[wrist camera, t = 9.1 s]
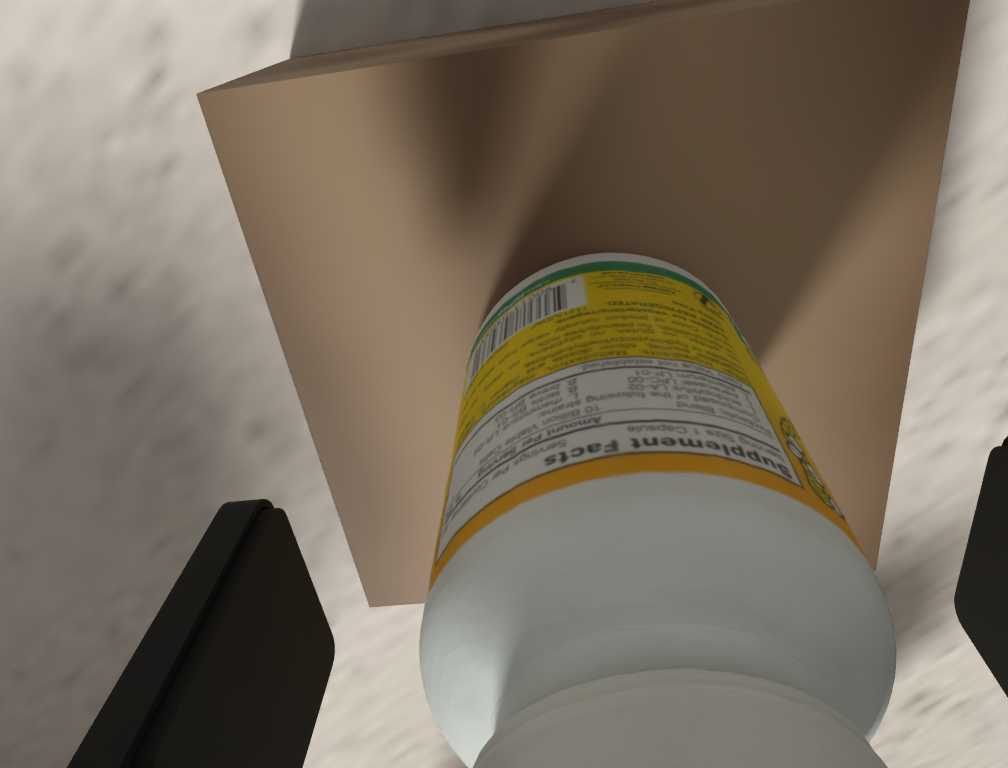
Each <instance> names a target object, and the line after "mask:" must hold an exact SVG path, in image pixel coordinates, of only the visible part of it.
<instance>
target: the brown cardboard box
mask: <svg viewBox="0 0 1008 768" xmlns="http://www.w3.org/2000/svg"><path fill="white" fill-rule="evenodd" d="M969 2H970V0H663V1H656V2H650V3H643V4H637V5H631V6H624V7H618V8H612V9H605V10H599V11H593V12H586V13H580V14H574V15H567V16H561V17H554V18H548V19H542V20H535V21H529V22H523V23H516V24H510V25H504V26H497V27H491V28H485V29H478V30H472V31H465V32H459V33H453V34H446V35H440V36H434V37H427V38H421V39H415V40H408V41H402V42H396V43H389V44H383V45H377V46H370V47H364V48H357V49H351V50H345V51H338V52H332V53H326V54H319V55H313V56H307V57H300V58H294V59H288V60H285V61H283V62H280V63H277V64H275V65H272V66H269V67H267V68H264V69H261V70H259V71H256V72H253V73H251V74H248V75H245V76H243V77H240V78H237V79H235V80H232V81H229V82H227V83H224V84H221V85H219V86H216V87H213V88H211V89H208V90H205V91H203V92H200V93H197V94H196V95H197V98H198V101H199V103H200V106H201V109H202V112H203V115H204V118H205V121H206V124H207V127H208V130H209V133H210V136H211V139H212V142H213V145H214V148H215V151H216V154H217V157H218V160H219V163H220V166H221V169H222V172H223V175H224V178H225V180H226V183H227V186H228V189H229V192H230V195H231V198H232V201H233V204H234V207H235V210H236V213H237V216H238V219H239V222H240V225H241V228H242V231H243V234H244V237H245V240H246V243H247V246H248V249H249V252H250V254H251V257H252V260H253V263H254V266H255V269H256V272H257V275H258V278H259V281H260V284H261V287H262V290H263V293H264V296H265V299H266V302H267V305H268V308H269V311H270V314H271V317H272V320H273V323H274V326H275V329H276V331H277V334H278V337H279V340H280V343H281V346H282V349H283V352H284V355H285V358H286V361H287V364H288V367H289V370H290V373H291V376H292V379H293V382H294V385H295V388H296V391H297V394H298V397H299V400H300V403H301V405H302V408H303V411H304V414H305V417H306V420H307V423H308V426H309V429H310V432H311V435H312V438H313V441H314V444H315V447H316V450H317V453H318V456H319V459H320V462H321V465H322V468H323V471H324V474H325V477H326V480H327V482H328V485H329V488H330V491H331V494H332V497H333V500H334V503H335V506H336V509H337V512H338V515H339V518H340V521H341V524H342V527H343V530H344V533H345V536H346V539H347V542H348V545H349V548H350V551H351V554H352V556H353V559H354V562H355V565H356V568H357V571H358V574H359V577H360V580H361V583H362V586H363V589H364V592H365V595H366V598H367V601H368V604H369V607H379V606H393V605H407V604H421V603H425V602H426V596H427V590H428V585H429V579H430V573H431V568H432V563H433V557H434V552H435V546H436V541H437V536H438V530H439V525H440V520H441V514H442V508H443V502H444V496H445V490H446V484H447V480H448V475H449V470H450V464H451V457H452V450H453V445H454V439H455V433H456V427H457V422H458V416H459V410H460V404H461V399H462V393H463V388H464V380H465V371H466V367H467V364H468V359H469V355H470V351H471V348H472V345H473V342H474V340H475V338H476V335H477V333H478V331H479V329H480V327H481V326H482V324H483V322H484V321H485V319H486V317H487V316H488V314H489V313H490V312H491V310H492V309H493V307H494V306H495V305H496V304H497V303H498V302H499V301H500V300H501V299H502V298H503V297H504V296H505V295H506V294H507V293H508V292H509V291H510V290H511V289H513V288H514V287H515V286H516V285H518V284H519V283H520V282H522V281H523V280H525V279H526V278H528V277H529V276H531V275H532V274H534V273H536V272H538V271H540V270H542V269H544V268H546V267H549V266H551V265H553V264H555V263H558V262H561V261H564V260H568V259H571V258H574V257H578V256H583V255H588V254H597V253H625V254H636V255H642V256H647V257H651V258H655V259H659V260H662V261H665V262H668V263H670V264H673V265H675V266H678V267H680V268H681V269H683V270H685V271H687V272H689V273H690V274H692V275H693V276H695V277H696V278H698V279H699V280H701V281H702V282H703V283H704V284H705V285H706V286H707V287H708V288H709V289H710V290H711V291H712V292H714V293H715V295H716V296H717V297H718V299H719V300H720V301H721V303H722V304H723V305H724V307H725V308H726V309H727V311H728V312H729V314H730V316H731V317H732V319H733V321H734V323H735V324H736V325H737V327H738V328H739V330H740V331H741V333H742V335H743V336H744V338H745V340H746V342H747V343H748V345H749V347H750V348H751V350H752V352H753V353H754V355H755V357H756V359H757V361H758V363H759V365H760V367H761V369H762V371H763V372H764V374H765V376H766V378H767V379H768V381H769V383H770V385H771V386H772V388H773V390H774V392H775V394H776V396H777V398H778V399H779V401H780V403H781V404H782V406H783V408H784V410H785V411H786V413H787V415H788V417H789V419H790V420H791V422H792V424H793V426H794V427H795V429H796V431H797V433H798V434H799V436H800V438H801V440H802V442H803V444H804V445H805V447H806V449H807V451H808V453H809V455H810V457H811V458H812V460H813V462H814V464H815V465H816V467H817V469H818V471H819V472H820V474H821V476H822V478H823V480H824V481H825V483H826V485H827V486H828V488H829V490H830V491H831V493H832V495H833V497H834V499H835V501H836V503H837V504H838V506H839V508H840V510H841V512H842V513H843V515H844V517H845V519H846V521H847V523H848V524H849V526H850V528H851V530H852V532H853V534H854V536H855V538H856V539H857V541H858V543H859V545H860V547H861V549H862V550H863V552H864V554H865V556H866V558H867V560H868V562H869V564H870V566H871V568H872V570H873V571H876V565H877V559H878V553H879V546H880V540H881V534H882V528H883V522H884V516H885V510H886V504H887V498H888V492H889V486H890V480H891V474H892V468H893V462H894V456H895V450H896V444H897V438H898V431H899V425H900V419H901V413H902V407H903V401H904V395H905V389H906V383H907V377H908V371H909V365H910V359H911V353H912V347H913V341H914V335H915V329H916V323H917V316H918V310H919V304H920V298H921V292H922V286H923V280H924V274H925V268H926V262H927V256H928V250H929V244H930V238H931V232H932V226H933V220H934V214H935V207H936V201H937V195H938V189H939V183H940V177H941V171H942V165H943V159H944V153H945V147H946V141H947V135H948V129H949V123H950V117H951V111H952V105H953V99H954V92H955V86H956V80H957V74H958V68H959V62H960V56H961V50H962V44H963V38H964V32H965V26H966V20H967V14H968V8H969Z"/></svg>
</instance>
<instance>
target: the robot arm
mask: <svg viewBox="0 0 1008 768" xmlns="http://www.w3.org/2000/svg"><path fill="white" fill-rule="evenodd" d="M954 603H955V610H956V614H957V617H958V619H959V622H960V623H961V625H962V627H963V629H964V630H965V632H966V633H967V635H968V636H969V638H970V639H971V641H972V643H973V644H974V646H975V647H976V649H977V650H978V652H979V653H980V655H981V657H982V658H983V660H984V661H985V663H986V664H987V666H988V667H989V669H990V671H991V672H992V674H993V675H994V677H995V678H996V680H997V681H998V683H999V685H1000V686H1001V688H1002V689H1003V691H1004V692H1005V694H1006V695H1007V697H1008V436H1007V437H1006V438H1005V440H1004V441H1003V444H1002V446H998V447H994V448H993V449H992V451H991V452H990V455H989V458H988V462H987V466H986V470H985V474H984V478H983V482H982V486H981V490H980V494H979V498H978V502H977V506H976V510H975V515H974V519H973V523H972V527H971V531H970V535H969V539H968V543H967V547H966V551H965V555H964V559H963V563H962V567H961V571H960V575H959V579H958V583H957V588H956V592H955V597H954ZM334 654H335V644H334V638H333V635H332V632H331V629H330V627H329V624H328V622H327V619H326V616H325V614H324V611H323V609H322V606H321V603H320V601H319V598H318V596H317V593H316V590H315V588H314V585H313V583H312V580H311V577H310V575H309V572H308V570H307V567H306V564H305V562H304V559H303V557H302V554H301V551H300V549H299V546H298V544H297V541H296V538H295V536H294V533H293V531H292V528H291V525H290V523H289V520H288V518H287V515H286V513H285V511H284V510H282V509H280V508H274V507H273V505H272V503H271V502H270V501H269V500H266V499H259V500H247V501H236V502H227V503H225V504H223V505H222V506H221V508H220V509H219V510H218V512H217V514H216V515H215V517H214V519H213V520H212V522H211V524H210V526H209V527H208V529H207V531H206V532H205V534H204V536H203V537H202V539H201V541H200V543H199V544H198V546H197V548H196V549H195V551H194V553H193V554H192V556H191V558H190V560H189V561H188V563H187V565H186V566H185V568H184V570H183V571H182V573H181V575H180V576H179V578H178V580H177V582H176V583H175V585H174V587H173V588H172V590H171V592H170V593H169V595H168V597H167V599H166V600H165V602H164V604H163V605H162V607H161V609H160V610H159V612H158V614H157V616H156V617H155V619H154V621H153V622H152V624H151V626H150V627H149V629H148V631H147V632H146V634H145V636H144V638H143V639H142V641H141V643H140V644H139V646H138V648H137V649H136V651H135V653H134V655H133V656H132V658H131V660H130V661H129V663H128V665H127V666H126V668H125V670H124V671H123V673H122V675H121V677H120V678H119V680H118V682H117V683H116V685H115V687H114V688H113V690H112V692H111V694H110V695H109V697H108V699H107V700H106V702H105V704H104V705H103V707H102V709H101V711H100V712H99V714H98V716H97V717H96V719H95V721H94V722H93V724H92V726H91V727H90V729H89V731H88V733H87V734H86V736H85V738H84V739H83V741H82V743H81V744H80V746H79V748H78V750H77V751H76V753H75V755H74V756H73V758H72V760H71V761H70V763H69V765H68V766H67V768H302V767H303V764H304V761H305V757H306V754H307V750H308V747H309V744H310V740H311V737H312V733H313V730H314V727H315V723H316V720H317V717H318V713H319V710H320V706H321V703H322V700H323V696H324V693H325V689H326V686H327V683H328V679H329V676H330V672H331V669H332V666H333V661H334Z"/></svg>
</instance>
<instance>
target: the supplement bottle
mask: <svg viewBox="0 0 1008 768" xmlns="http://www.w3.org/2000/svg"><path fill="white" fill-rule="evenodd" d="M420 667H421V676H422V681H423V686H424V690H425V694H426V698H427V701H428V704H429V706H430V709H431V712H432V714H433V717H434V719H435V721H436V723H437V725H438V727H439V729H440V731H441V732H442V734H443V736H444V737H445V739H446V741H447V742H448V744H449V745H450V746H451V748H452V749H453V750H454V752H455V753H456V754H457V755H458V757H459V758H460V759H461V760H462V761H463V762H464V764H465V765H466V766H467V767H468V768H888V767H887V766H886V765H885V764H884V762H883V761H882V760H881V758H880V757H879V756H878V755H877V754H876V753H875V752H874V750H873V749H872V747H871V746H870V744H869V742H870V740H871V739H872V737H873V735H874V734H875V732H876V730H877V729H878V727H879V725H880V723H881V721H882V718H883V716H884V714H885V712H886V709H887V707H888V704H889V700H890V697H891V693H892V689H893V684H894V679H895V668H896V644H895V635H894V627H893V623H892V619H891V615H890V612H889V608H888V605H887V603H886V600H885V598H884V595H883V592H882V590H881V587H880V585H879V583H878V581H877V579H876V576H875V574H874V572H873V570H872V568H871V566H870V564H869V562H868V560H867V558H866V556H865V554H864V552H863V550H862V549H861V547H860V545H859V543H858V541H857V539H856V538H855V536H854V534H853V532H852V530H851V528H850V526H849V524H848V523H847V521H846V519H845V517H844V515H843V513H842V512H841V510H840V508H839V506H838V504H837V503H836V501H835V499H834V497H833V495H832V493H831V491H830V490H829V488H828V486H827V485H826V483H825V481H824V480H823V478H822V476H821V474H820V472H819V471H818V469H817V467H816V465H815V464H814V462H813V460H812V458H811V457H810V455H809V453H808V451H807V449H806V447H805V445H804V444H803V442H802V440H801V438H800V436H799V434H798V433H797V431H796V429H795V427H794V426H793V424H792V422H791V420H790V419H789V417H788V415H787V413H786V411H785V410H784V408H783V406H782V404H781V403H780V401H779V399H778V398H777V396H776V394H775V392H774V390H773V388H772V386H771V385H770V383H769V381H768V379H767V378H766V376H765V374H764V372H763V371H762V369H761V367H760V365H759V363H758V361H757V359H756V357H755V355H754V353H753V352H752V350H751V348H750V347H749V345H748V343H747V342H746V340H745V338H744V336H743V335H742V333H741V331H740V330H739V328H738V327H737V325H736V324H735V323H734V321H733V319H732V317H731V316H730V314H729V312H728V311H727V309H726V308H725V307H724V305H723V304H722V303H721V301H720V300H719V299H718V297H717V296H716V295H715V293H714V292H712V291H711V290H710V289H709V288H708V287H707V286H706V285H705V284H704V283H703V282H702V281H701V280H699V279H698V278H696V277H695V276H693V275H692V274H690V273H689V272H687V271H685V270H683V269H681V268H680V267H678V266H675V265H673V264H670V263H668V262H665V261H662V260H659V259H655V258H651V257H647V256H642V255H636V254H625V253H597V254H588V255H583V256H578V257H574V258H571V259H568V260H564V261H561V262H558V263H555V264H553V265H551V266H549V267H546V268H544V269H542V270H540V271H538V272H536V273H534V274H532V275H531V276H529V277H528V278H526V279H525V280H523V281H522V282H520V283H519V284H518V285H516V286H515V287H514V288H513V289H511V290H510V291H509V292H508V293H507V294H506V295H505V296H504V297H503V298H502V299H501V300H500V301H499V302H498V303H497V304H496V305H495V306H494V307H493V309H492V310H491V312H490V313H489V314H488V316H487V317H486V319H485V321H484V322H483V324H482V326H481V327H480V329H479V331H478V333H477V335H476V338H475V340H474V342H473V345H472V348H471V351H470V355H469V359H468V364H467V367H466V371H465V380H464V388H463V393H462V399H461V404H460V410H459V416H458V422H457V427H456V433H455V439H454V445H453V450H452V457H451V464H450V470H449V475H448V480H447V484H446V490H445V496H444V502H443V508H442V514H441V520H440V525H439V530H438V536H437V541H436V546H435V552H434V557H433V563H432V568H431V573H430V579H429V585H428V590H427V596H426V602H425V608H424V614H423V619H422V625H421V633H420Z"/></svg>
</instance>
